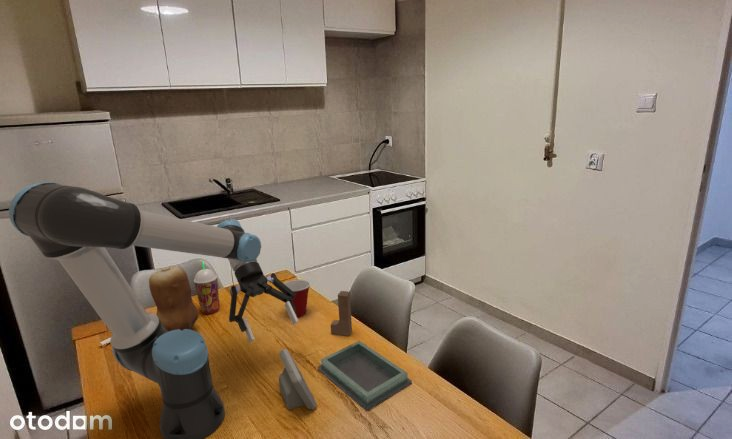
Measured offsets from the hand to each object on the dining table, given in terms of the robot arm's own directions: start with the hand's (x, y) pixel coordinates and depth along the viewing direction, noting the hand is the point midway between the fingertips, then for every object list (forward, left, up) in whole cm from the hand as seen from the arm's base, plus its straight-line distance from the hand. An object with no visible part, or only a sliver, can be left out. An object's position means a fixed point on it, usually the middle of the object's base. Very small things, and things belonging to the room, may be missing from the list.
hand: (274, 331), depth 119 cm
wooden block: (+27, +6, -15) cm, 31 cm away
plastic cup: (+23, +28, -15) cm, 39 cm away
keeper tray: (+18, -17, -14) cm, 28 cm away
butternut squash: (-15, +43, -15) cm, 48 cm away
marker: (-29, +57, -15) cm, 66 cm away
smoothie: (-1, +53, -15) cm, 55 cm away
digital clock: (0, -11, -15) cm, 18 cm away
